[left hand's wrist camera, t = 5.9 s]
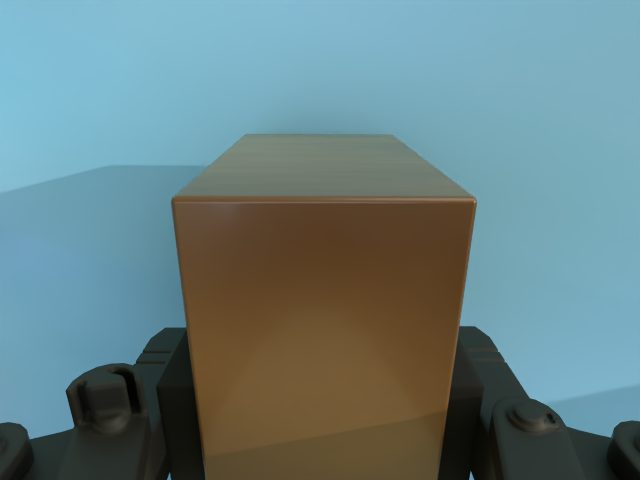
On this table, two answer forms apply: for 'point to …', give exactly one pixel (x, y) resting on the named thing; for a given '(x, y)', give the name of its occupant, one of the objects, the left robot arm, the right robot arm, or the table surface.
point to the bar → (322, 306)
